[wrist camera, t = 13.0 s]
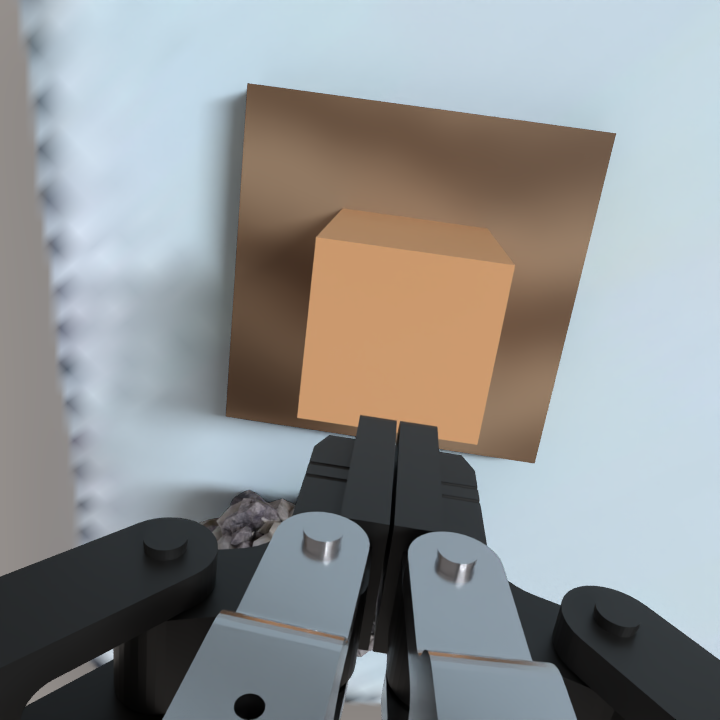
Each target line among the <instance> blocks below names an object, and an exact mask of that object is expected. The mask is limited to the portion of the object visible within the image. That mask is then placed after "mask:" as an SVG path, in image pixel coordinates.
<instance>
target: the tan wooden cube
mask: <svg viewBox="0 0 720 720" xmlns="http://www.w3.org/2000/svg"><path fill="white" fill-rule="evenodd" d="M514 268H515V264H514V263H513V262H512V261H511V259H510V258H509V257H508V255H507V254H506V253H505V251H504V250H503V249H502V247H501V246H500V245H499V243H498V242H497V241H496V239H495V238H494V237H493V235H492V234H491V233H490V231H489V230H488V229H487V228H480V227H473V226H466V225H459V224H452V223H444V222H437V221H430V220H423V219H416V218H409V217H402V216H395V215H387V214H380V213H373V212H366V211H359V210H352V209H345V208H343V209H342V210H341V211H340V212H339V213H338V214H337V215H336V216H335V217H334V218H333V219H332V221H331V222H330V223H329V224H328V225H327V226H326V227H325V228H324V229H323V230H322V231H321V232H320V233H319V235H318V236H317V237H316V243H315V252H314V262H313V271H312V281H311V290H310V300H309V309H308V319H307V328H306V338H305V347H304V357H303V366H302V376H301V385H300V395H299V404H298V414H297V418H302V419H309V420H316V421H322V422H329V423H335V424H342V425H349V426H355V427H358V423H359V418H360V415H365V416H371V417H378V418H385V419H391V420H397V428H396V433H398V428H399V423H400V421H405V422H411V423H418V424H425V425H431V426H437V428H438V439H442V440H448V441H455V442H462V443H468V444H475V445H477V444H478V440H479V435H480V430H481V425H482V421H483V416H484V411H485V406H486V402H487V397H488V392H489V387H490V383H491V378H492V373H493V368H494V364H495V359H496V354H497V349H498V345H499V340H500V335H501V330H502V326H503V321H504V316H505V311H506V307H507V302H508V297H509V292H510V288H511V283H512V278H513V273H514Z"/></svg>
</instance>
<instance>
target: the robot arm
mask: <svg viewBox="0 0 720 720" xmlns="http://www.w3.org/2000/svg"><path fill="white" fill-rule="evenodd" d="M396 428H397V420H391V419H385V418H378V417H371V416H365V415H360V418H359V423H358V428H357V434H356V439H351V438H345V437H338V436H332V435H329V436H328V437H326V438H325V439H323V440H322V441H321V442H319V443H318V444H317V445H315V446H314V449H313V452H312V455H311V458H310V462H309V465H308V468H307V471H306V475H305V477H304V480H303V483H302V487H301V490H300V493H299V496H298V499H297V502H296V505H295V508H294V512H293V515H292V517H289V518H287V519H286V520H284V521H283V522H282V523H281V524H280V525H279V526H278V527H277V529H276V530H275V533H274V535H273V537H272V539H271V541H269V542H267V543H264V544H261V545H258V546H253V547H247V548H236V549H220V550H218V543H217V539H216V537H215V536H214V534H213V533H212V532H211V531H210V530H209V529H208V528H206V527H205V526H204V525H202V524H199V523H197V522H195V521H191V520H188V519H182V518H157V519H152V520H147V521H144V522H141V523H138V524H135V525H133V526H130V527H128V528H125V529H122V530H120V531H117V532H115V533H112V534H109V535H107V536H104V537H102V538H99V539H97V540H94V541H91V542H89V543H86V544H84V545H81V546H78V547H76V548H73V549H71V550H68V551H66V552H63V553H61V554H58V555H55V556H53V557H50V558H47V559H45V560H42V561H40V562H37V563H35V564H32V565H29V566H27V567H24V568H22V569H19V570H16V571H14V572H11V573H9V574H6V575H3V576H1V577H0V720H341V715H342V710H343V706H344V701H345V697H346V691H347V685H348V680H349V679H350V677H351V676H352V674H353V672H354V668H355V664H356V657H357V651H358V649H360V650H366V651H368V649H369V644H370V638H371V632H372V626H373V620H374V614H375V608H376V617H375V629H374V640H373V651H374V652H380V653H386V654H387V668H386V674H385V679H384V684H383V690H382V697H381V712H382V720H720V660H719V659H718V658H716V657H715V656H714V655H712V654H711V653H709V652H708V651H707V650H705V649H704V648H703V647H701V646H700V645H699V644H697V643H696V642H695V641H693V640H692V639H690V638H689V637H688V636H686V635H685V634H684V633H682V632H681V631H680V630H678V629H677V628H676V627H674V626H673V625H671V624H670V623H669V622H667V621H666V620H665V619H663V618H662V617H661V616H659V615H658V614H656V613H655V612H654V611H652V610H651V609H650V608H648V607H647V606H646V605H644V604H643V603H641V602H640V601H638V600H636V599H634V598H633V597H631V596H629V595H626V594H624V593H622V592H619V591H616V590H613V589H610V588H605V587H600V586H581V587H577V588H574V589H572V590H570V591H569V592H568V593H567V594H566V595H565V596H564V598H563V600H562V603H561V605H558V604H556V603H553V602H551V601H548V600H545V599H543V598H540V597H538V596H535V595H533V594H530V593H528V592H526V591H524V590H522V589H520V588H518V587H516V586H515V585H513V584H512V583H511V582H509V581H508V580H507V576H506V573H505V570H504V567H503V564H502V562H501V560H500V558H499V557H498V556H497V554H496V553H495V552H494V551H493V550H491V549H490V548H489V547H488V546H487V543H486V537H485V531H484V525H483V518H482V512H481V506H480V503H479V494H478V490H477V482H476V475H475V471H474V469H473V468H472V467H471V466H470V465H469V464H468V462H467V461H466V460H465V459H464V458H463V457H462V455H456V454H449V453H443V452H439V442H438V428H437V426H431V425H425V424H418V423H411V422H405V421H400V423H399V428H398V433H397V439H396ZM395 443H396V445H395ZM376 602H377V605H376ZM113 648H114V659H113V660H111V661H110V662H108V663H106V664H104V665H102V666H100V667H98V668H96V669H95V670H93V671H91V672H89V673H87V674H85V675H83V676H81V677H80V678H78V679H76V680H74V681H72V682H70V683H68V684H66V685H65V686H63V687H61V688H59V689H57V690H55V691H54V692H51V693H50V694H48V695H46V696H44V697H42V698H40V699H38V700H37V701H35V702H33V703H31V704H29V705H28V706H26V704H27V702H28V701H29V700H30V699H31V697H32V696H33V695H34V694H35V693H36V692H37V691H38V690H39V689H40V688H41V687H43V686H44V685H45V684H47V683H48V682H50V681H52V680H54V679H56V678H57V677H59V676H61V675H63V674H65V673H67V672H69V671H71V670H73V669H75V668H77V667H78V666H80V665H82V664H84V663H86V662H88V661H90V660H92V659H94V658H96V657H98V656H100V655H102V654H104V653H105V652H107V651H109V650H111V649H113Z"/></svg>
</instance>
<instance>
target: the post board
mask: <svg viewBox="0 0 720 720" xmlns="http://www.w3.org/2000/svg"><path fill="white" fill-rule="evenodd" d="M615 136H616V133H609V132H601V131H594V130H587V129H579V128H572V127H565V126H557V125H550V124H543V123H535V122H528V121H521V120H513V119H506V118H499V117H491V116H484V115H477V114H469V113H462V112H455V111H447V110H440V109H432V108H425V107H418V106H410V105H403V104H396V103H388V102H381V101H374V100H366V99H359V98H352V97H344V96H337V95H330V94H322V93H315V92H308V91H300V90H293V89H286V88H278V87H271V86H264V85H256V84H249V83H248V84H247V99H246V114H245V129H244V145H243V160H242V175H241V190H240V206H239V221H238V236H237V251H236V267H235V282H234V297H233V312H232V328H231V343H230V358H229V373H228V388H227V404H226V416H227V417H233V418H240V419H246V420H253V421H260V422H266V423H273V424H279V425H286V426H292V427H299V428H306V429H312V430H319V431H325V432H332V433H338V434H345V435H352V436H356V434H357V428H358V427H355V426H349V425H342V424H335V423H329V422H322V421H316V420H309V419H302V418H297V414H298V404H299V395H300V385H301V376H302V366H303V357H304V347H305V338H306V328H307V319H308V309H309V300H310V290H311V281H312V271H313V262H314V252H315V243H316V237H317V236H318V235H319V233H320V232H321V231H322V230H323V229H324V228H325V227H326V226H327V225H328V224H329V223H330V222H331V221H332V219H333V218H334V217H335V216H336V215H337V214H338V213H339V212H340V211H341V210H342V209H343V208H345V209H352V210H359V211H366V212H373V213H380V214H387V215H395V216H402V217H409V218H416V219H423V220H430V221H437V222H444V223H452V224H459V225H466V226H473V227H480V228H487V229H488V230H489V231H490V233H491V234H492V235H493V237H494V238H495V239H496V241H497V242H498V243H499V245H500V246H501V247H502V249H503V250H504V251H505V253H506V254H507V255H508V257H509V258H510V259H511V261H512V262H513V263H514V264H515V268H514V273H513V278H512V283H511V288H510V292H509V297H508V302H507V307H506V311H505V316H504V321H503V326H502V330H501V335H500V340H499V345H498V349H497V354H496V359H495V364H494V368H493V373H492V378H491V383H490V387H489V392H488V397H487V402H486V406H485V411H484V416H483V421H482V425H481V430H480V435H479V440H478V444H477V445H475V444H468V443H462V442H455V441H448V440H442V439H438V442H439V449H444V450H450V451H457V452H463V453H470V454H476V455H483V456H490V457H496V458H503V459H509V460H516V461H523V462H529V463H535V459H536V455H537V451H538V447H539V443H540V439H541V435H542V431H543V427H544V423H545V419H546V415H547V411H548V407H549V403H550V399H551V395H552V391H553V387H554V382H555V378H556V374H557V370H558V366H559V362H560V358H561V354H562V350H563V346H564V342H565V338H566V334H567V330H568V326H569V322H570V318H571V314H572V310H573V306H574V302H575V298H576V293H577V289H578V285H579V281H580V277H581V273H582V269H583V265H584V261H585V257H586V253H587V249H588V245H589V241H590V237H591V233H592V229H593V225H594V221H595V217H596V213H597V208H598V204H599V200H600V196H601V192H602V188H603V184H604V180H605V176H606V172H607V168H608V164H609V160H610V156H611V152H612V148H613V144H614V140H615ZM396 439H397V433H396Z"/></svg>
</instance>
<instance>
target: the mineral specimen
mask: <svg viewBox="0 0 720 720" xmlns="http://www.w3.org/2000/svg"><path fill="white" fill-rule="evenodd" d="M294 508H295V504H293V503H291V502H289V501H287V500H285V499H280V500H277V501H274V502H271V503H267V502H266V501H265V500H264V499H263V498H262V497H261V496H259V495H257V494H256V493H254V492H252V491H251V490H248V491H246V492H244V493H242V494H240V495H238V496H236V497H235V498H234V499H233V500H232V502H231V506H230V507H229V508H228V509H227V510H226V511H225V512H224V513H223V515H222V516H221V517H220V518H214V519H210V520H206V521H203V522H201V523H199V524H202V525H204V526H205V527H206V528H208V529H209V530H210V531H211V532H212V533H213V534H214V536H215V537H216V539H217V543H218V550H220V549H236V548H247V547H253V546H258V545H261V544H264V543H267V542H269V541H271V539H272V537H273V535H274V533H275V530H276V529H277V527H278V526H279V525H280V524H281V523H282V522H283V521H284V520H286V519H287V518H289V517H292V515H293V512H294ZM376 605H377V602H376ZM375 617H376V608H375V614H374V620H373V626H372V632H371V638H370V644H369V649H368V651H371V650H373V640H374V629H375ZM368 651H366V650H360V649H358V651H357V657H362V656H363V655H364V654H366V653H367V652H368Z"/></svg>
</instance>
